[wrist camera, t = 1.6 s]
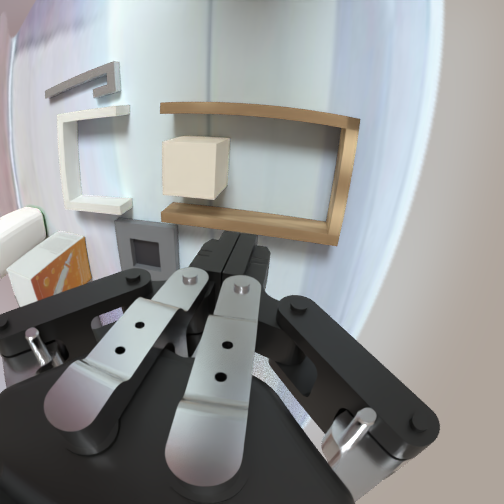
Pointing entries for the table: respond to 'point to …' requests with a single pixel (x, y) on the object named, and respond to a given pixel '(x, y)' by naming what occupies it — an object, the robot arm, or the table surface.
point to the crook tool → (108, 69)
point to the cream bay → (71, 168)
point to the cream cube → (195, 166)
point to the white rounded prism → (19, 235)
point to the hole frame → (148, 247)
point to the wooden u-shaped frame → (265, 221)
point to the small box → (50, 268)
